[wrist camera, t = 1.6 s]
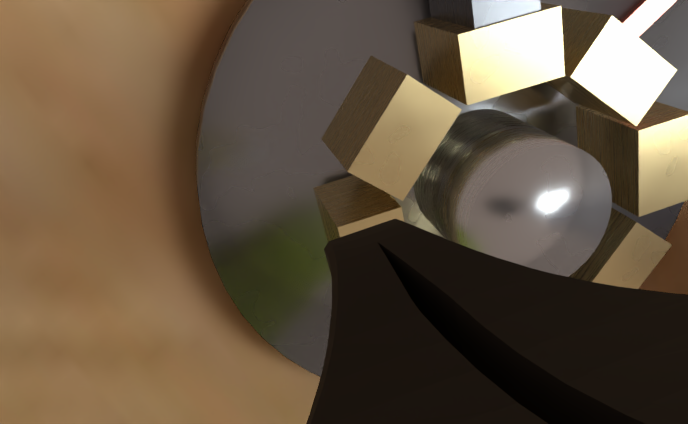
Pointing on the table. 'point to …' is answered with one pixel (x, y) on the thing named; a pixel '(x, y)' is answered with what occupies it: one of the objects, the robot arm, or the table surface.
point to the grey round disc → (432, 184)
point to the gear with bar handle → (504, 77)
